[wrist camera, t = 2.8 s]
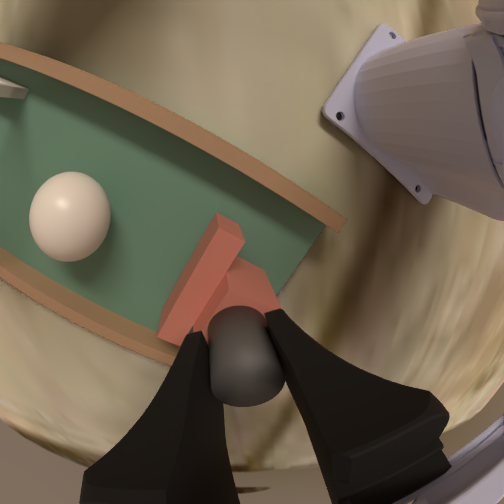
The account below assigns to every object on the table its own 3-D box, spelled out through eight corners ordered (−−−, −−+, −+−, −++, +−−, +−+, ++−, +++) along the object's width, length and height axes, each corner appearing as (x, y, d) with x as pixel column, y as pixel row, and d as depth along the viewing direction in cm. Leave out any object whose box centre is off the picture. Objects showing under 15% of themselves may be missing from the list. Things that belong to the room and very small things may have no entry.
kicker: (280, 246, 15) (336, 331, 8) (221, 332, 16) (236, 435, 10) (216, 210, 13) (227, 283, 7) (162, 306, 15) (145, 411, 8)
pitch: (327, 207, 16) (346, 219, 13) (221, 357, 19) (224, 383, 16) (2, 43, 8) (-19, 37, 6) (-49, 208, 11) (-70, 219, 9)
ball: (133, 187, 13) (108, 207, 9) (104, 255, 14) (77, 293, 10) (69, 154, 11) (27, 163, 8) (46, 222, 12) (6, 250, 9)
